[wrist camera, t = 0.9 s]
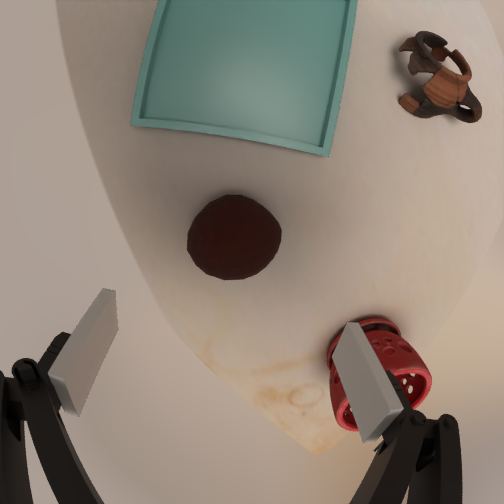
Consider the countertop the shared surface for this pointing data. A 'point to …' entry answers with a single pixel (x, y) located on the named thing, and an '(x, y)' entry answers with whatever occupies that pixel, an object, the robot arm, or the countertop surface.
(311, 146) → the teal tray
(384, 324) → the plant pot
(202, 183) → the countertop surface
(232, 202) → the dark brown oval
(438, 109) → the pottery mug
